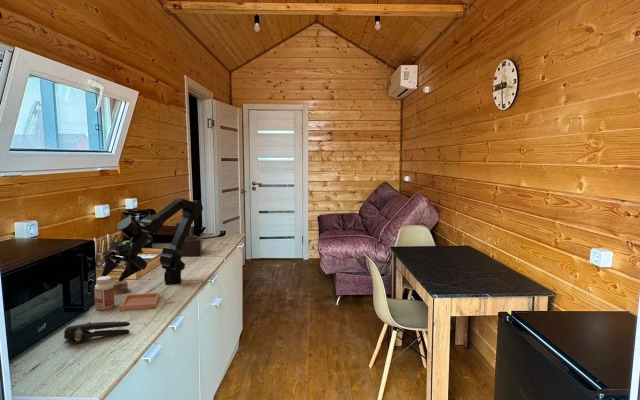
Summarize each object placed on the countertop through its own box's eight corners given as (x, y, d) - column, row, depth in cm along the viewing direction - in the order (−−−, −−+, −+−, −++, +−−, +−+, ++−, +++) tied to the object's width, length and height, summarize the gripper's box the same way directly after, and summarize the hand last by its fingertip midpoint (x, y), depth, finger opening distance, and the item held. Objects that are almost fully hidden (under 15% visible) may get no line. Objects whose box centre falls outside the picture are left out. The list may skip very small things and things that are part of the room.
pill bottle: (114, 302, 145) (114, 274, 144) (113, 308, 139) (113, 279, 138) (95, 305, 142) (95, 276, 141) (94, 311, 136) (93, 281, 135)
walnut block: (126, 288, 161) (126, 279, 160) (127, 292, 156) (127, 283, 156) (113, 290, 158) (113, 281, 158) (113, 294, 154) (113, 284, 153)
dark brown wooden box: (202, 252, 227) (203, 222, 225) (200, 256, 216) (200, 225, 214) (175, 252, 225) (175, 222, 223) (171, 256, 214) (171, 225, 212)
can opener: (62, 349, 110) (61, 330, 109) (65, 338, 116) (64, 321, 115) (130, 337, 118) (130, 320, 118) (129, 328, 124) (129, 312, 124)
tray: (159, 296, 152) (159, 292, 152) (155, 308, 141) (155, 303, 141) (126, 299, 149) (126, 294, 149) (119, 310, 137) (119, 306, 137)
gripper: (106, 230, 149) (79, 263, 140) (140, 235, 142) (114, 271, 133) (124, 246, 157) (99, 279, 148) (157, 252, 149) (133, 287, 140)
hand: (110, 278), depth 142 cm, fingers open, 9 cm apart
